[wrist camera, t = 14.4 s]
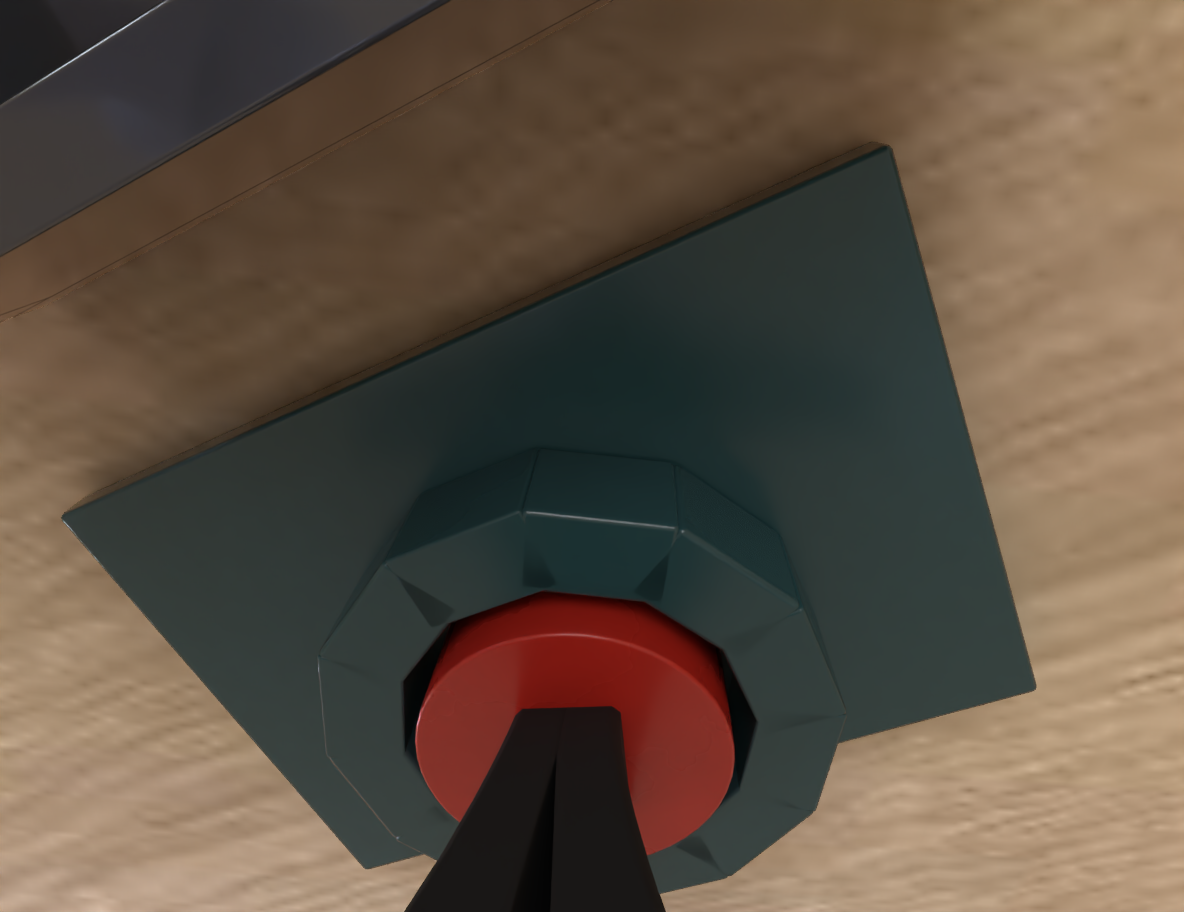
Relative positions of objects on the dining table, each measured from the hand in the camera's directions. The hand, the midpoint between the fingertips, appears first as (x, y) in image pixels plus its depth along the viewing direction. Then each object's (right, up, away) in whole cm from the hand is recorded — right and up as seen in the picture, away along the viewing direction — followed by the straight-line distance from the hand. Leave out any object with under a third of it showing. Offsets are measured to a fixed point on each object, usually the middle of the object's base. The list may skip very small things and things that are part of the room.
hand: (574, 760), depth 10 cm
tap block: (0, +2, +2) cm, 3 cm away
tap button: (0, +1, +2) cm, 2 cm away
